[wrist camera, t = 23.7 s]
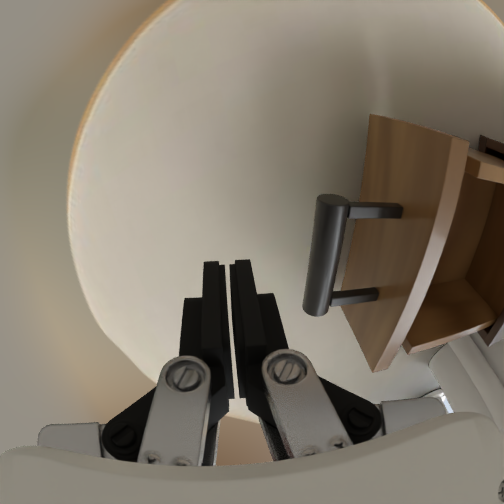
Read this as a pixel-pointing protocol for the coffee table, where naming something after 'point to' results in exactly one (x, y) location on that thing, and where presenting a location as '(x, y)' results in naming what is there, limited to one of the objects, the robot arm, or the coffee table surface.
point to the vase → (472, 376)
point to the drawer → (413, 243)
